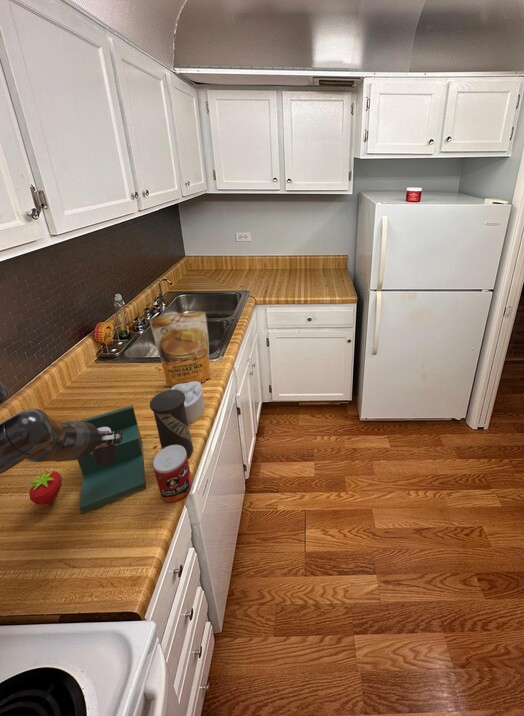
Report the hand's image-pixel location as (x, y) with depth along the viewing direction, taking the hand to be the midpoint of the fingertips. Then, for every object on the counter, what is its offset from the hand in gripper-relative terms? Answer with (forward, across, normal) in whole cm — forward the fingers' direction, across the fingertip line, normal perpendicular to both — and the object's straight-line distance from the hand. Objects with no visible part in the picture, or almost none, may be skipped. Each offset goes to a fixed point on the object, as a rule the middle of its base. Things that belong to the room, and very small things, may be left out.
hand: (106, 440), depth 83 cm
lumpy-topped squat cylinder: (+26, -14, -7) cm, 31 cm away
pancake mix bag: (+38, -12, -19) cm, 45 cm away
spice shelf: (+10, +1, +8) cm, 13 cm away
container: (+14, -14, +5) cm, 20 cm away
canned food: (+5, -16, +14) cm, 22 cm away
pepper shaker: (+2, 0, +4) cm, 4 cm away
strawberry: (+6, +14, +12) cm, 20 cm away
